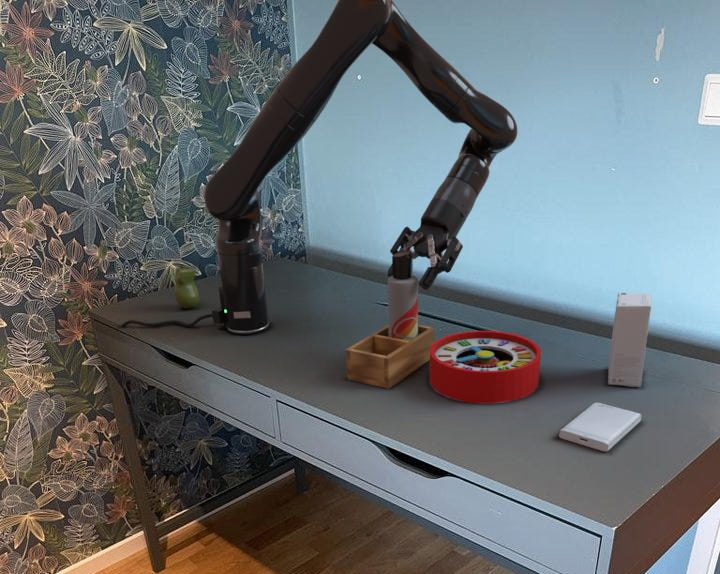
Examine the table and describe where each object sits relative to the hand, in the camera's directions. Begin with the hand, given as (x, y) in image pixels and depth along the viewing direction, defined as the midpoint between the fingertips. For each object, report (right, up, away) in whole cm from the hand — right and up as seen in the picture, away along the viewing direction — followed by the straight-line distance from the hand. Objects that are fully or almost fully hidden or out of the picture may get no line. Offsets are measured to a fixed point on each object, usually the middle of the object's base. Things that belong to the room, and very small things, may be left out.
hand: (406, 282), depth 145 cm
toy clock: (+14, -19, -2) cm, 24 cm away
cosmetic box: (+40, -19, -4) cm, 44 cm away
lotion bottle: (0, -12, +7) cm, 14 cm away
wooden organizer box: (-3, -15, +4) cm, 16 cm away
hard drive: (+30, -29, -21) cm, 47 cm away
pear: (-50, +4, +40) cm, 64 cm away
